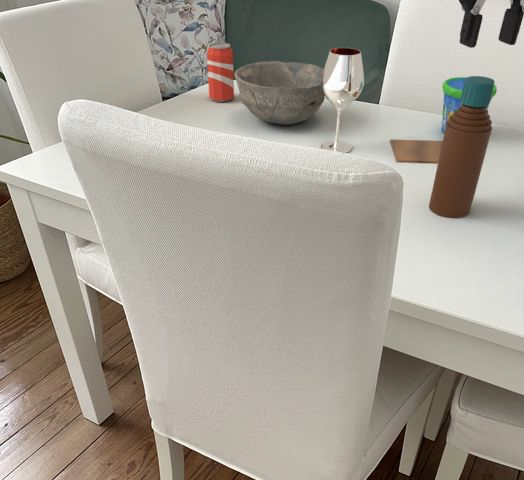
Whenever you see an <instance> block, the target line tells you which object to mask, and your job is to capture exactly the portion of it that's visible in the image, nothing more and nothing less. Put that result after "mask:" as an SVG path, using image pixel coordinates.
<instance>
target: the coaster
mask: <svg viewBox="0 0 524 480" xmlns="http://www.w3.org/2000/svg"><path fill="white" fill-rule="evenodd" d="M389 142H390V146H391V149H392V152H393V155H394V159H395V161H396V163H423V164H438V161H439V156H440V152H441V147H442V142H443V140H429V139H428V140H427V139H426V140H424V139H389Z"/></svg>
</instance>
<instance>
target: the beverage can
mask: <svg viewBox="0 0 524 480" xmlns="http://www.w3.org/2000/svg"><path fill="white" fill-rule="evenodd" d="M206 60H207V62H206V63H207V80H208V81H207V82H208V97H209V99H211V100H212V101H214V102H218V103H225V102H229V101H231V100H232V99H234V98H235V84H234V83H235V80H234V79H235V76H234V52H233V50H232V48H231V44H230V43H228V42H213V43H209V44H208V49H207V50H206Z"/></svg>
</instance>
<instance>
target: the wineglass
mask: <svg viewBox="0 0 524 480" xmlns="http://www.w3.org/2000/svg"><path fill="white" fill-rule="evenodd" d="M363 65H364V64H363V58H362V52H361V50H359V49H358V48H357V49H356V48H351V47H335V48H331V49H330V50H329V52H328V55H327V58H326V60H325V64H324V68H323V69H324V71H323V75H322V79H321V89H322V92H323V94H324V95H325V98H326V99H327V100H328V102H329V103H331V105H332V106H333V107H334V108H335V110H336V113H337V115H336V127H335V136H334V140H330V141H325V142H323V143H321V144H320V149H321V150H322V149H327V150H332V151H338V152H343V153H342V154H347V153H349V152H351V151H352V148H353V145H351V144H350V143H348V142H345V141H340V136H341V135H340V134H341V124H342V123H341V122H342V113H343V112H344V110H345V109H346V108H347V107H348V106H349V105H351V104H352V103H353V102H355V100H357V99H358V98H359V96H360V95H361V94H362V92H363V90H364V86H365V75H364V66H363Z"/></svg>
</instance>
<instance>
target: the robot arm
mask: <svg viewBox="0 0 524 480" xmlns="http://www.w3.org/2000/svg"><path fill="white" fill-rule="evenodd" d="M458 2H459V4H460V6H461V10H462V11H463V12H464V13H463V19H462V23H461V28H460V32H459V44H461V45H463V46H465V47H466V48H470V49H472V48H476V46H477V44H478V39H479V35H480V30H481V26H482V22H483V14H480V12H481V10H482V8H483V6H484V5H485V3H486V0H458ZM509 2H510V8H506V9H505V11H504V14H503V18H502V21H501V22H502V23H501V26H500V30H499V34H498V41H499V42H501V43H504V44H506V45H509V46H514V45H516V43H517V40H518V37H519V33H520V29H521V26H522V22H523V19H524V0H510V1H509Z"/></svg>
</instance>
